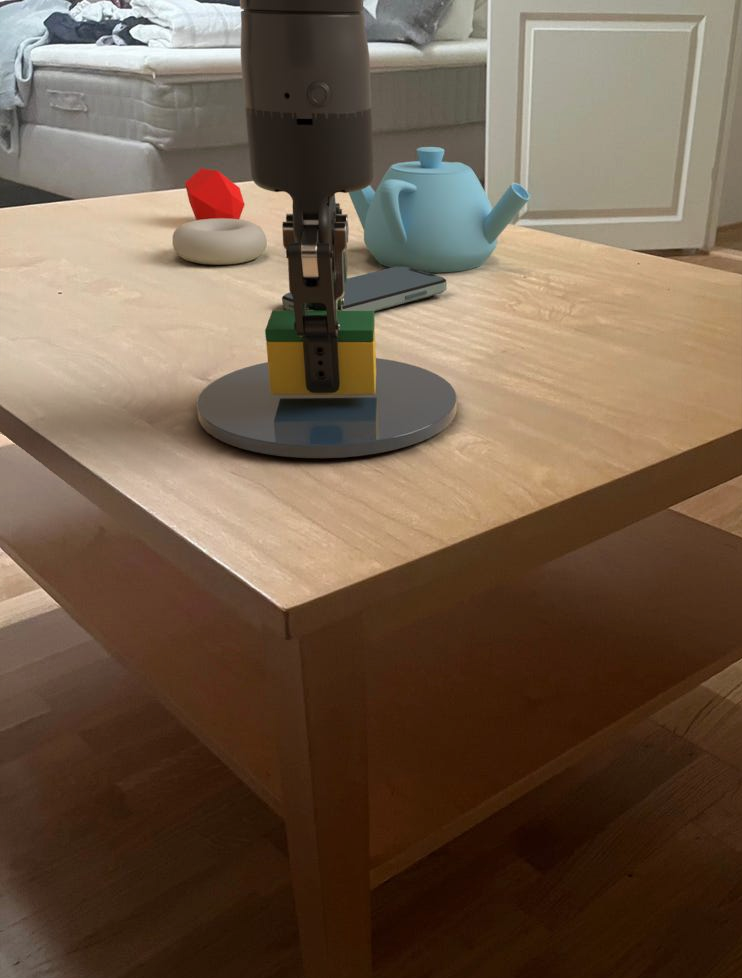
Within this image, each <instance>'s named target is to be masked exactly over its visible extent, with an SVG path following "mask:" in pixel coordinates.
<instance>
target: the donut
mask: <svg viewBox="0 0 742 978" xmlns="http://www.w3.org/2000/svg"><path fill="white" fill-rule="evenodd" d="M267 244H268V240H267V235H266V234H265V230H263V228H262V227H260V225H258V224H256V223H254V222H252V221H249V220H245V219H240V218H239V219H224V218H220V219H202V220H196V219H195V220H191V221H187V222H184V223H182V224H180V225H179V226H178V227H177V228H175V230H173V233H172V248H173V250H174V251H175V253H176V255H178V256H179V257H181V258H182V259H183V260H186V261H188V262H191V263H195V264H201V265H211V266H212V265H213V266H221V265H235V264H237V265H238V264H242V263H248V262H250V261H254V260H256V259H258V258H259V257H260V256H262V255H263V253H264V252H265V251H266V249H267V246H268V245H267Z"/></svg>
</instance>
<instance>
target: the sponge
mask: <svg viewBox="0 0 742 978" xmlns="http://www.w3.org/2000/svg"><path fill="white" fill-rule="evenodd" d="M307 315H327V311H307ZM375 319H376V318H375V311H338V323H340V331H338V337H337V340H338V359H339V377H340V385H339V389H338V391H336V392H334V393H312V392H310V391H308V390H307V388H306V378H305V365H304V351H303V337H300V336H297V332H296V330H295V329H294V321H295V313H294V310H287V309H285V310H283V309H279V310H278V309H273V310H271V313H270V316H269V318H268V321H267V325H266V327H265V329H264V333H265V341H266V342H265V345H266V356H267V362H268V367H269V378H270V389H271V394H272V395H374V394H375V388H376V358H377V357H376V354H377V353H376V328H375V327H376V325H375V323H376V322H375Z"/></svg>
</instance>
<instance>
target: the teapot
mask: <svg viewBox="0 0 742 978" xmlns="http://www.w3.org/2000/svg"><path fill="white" fill-rule="evenodd" d="M415 150H416V155H417V158H418V160H414V161H404V162H397V163H394V164H392V165H390V166H389V168H388V169H387V170H386V172H385V174H384V175H383V177H382V178H381V181H380V182H379V184H378V186H377V188H376V190H374V189H373V188H372V186H371V184H370V185H369V186H368V187H366V188H364V189H361V190H358V191H354V192H348V193H347V194H348V195H349V198H350V200H351V203H352V205H353V207H354V210H355V212H356V215H357V217H358V219H359V222H360V224H361V227H362V229H363V241H364V244H365V248H366V249H367V250H368V251H369V253H370V255H372V257H373V258H374V259H375V260H376V261H377V262H378V263H379V264H380V265H382V266H384V267H387V268H392V267H408V268H413V269H417V270H420V271H424V272H427V273H431V274H435V273H436V274H437V273H438V274H439V273H442V274H443V273H455V272H456V273H457V272H462V271H468V270H472V269H476V268H478V267H480V266H482V265H483V264H484V263H485V262H486V261H487V260H488V259H489V258H490V256H491V255H492V254H493V252H494V251H495V250H496V248H497V245H498V237H499V236H500V235H501V234H502V233H503V231H504V230H505V229H506V228H507V227H508V225H509V224H511V222H512V221H513V219H514V218H515V217H516V216H517V215H518V214H519V212H520V211H521V210H522V209H523V208H524V207H525V205H526V204H527V203H528V202H529V201H530V199H531V195H530V193H529V192H528V191H527V189H526V188H525V187H524V186H523V185H521V184H520V183H518V182H511V184H510V186H509V187H508V188H507V189H506V190H505V192H504V193H503V195H501V197H500V199H498V201H497V202H496V203H495V205H494V206H492V204H491V201H490V199H489V197H488V195H487V193H486V191H485V189H484V187H483V185H482V183H481V182H480V180H479V178H478V176H477V175H476V173H475V172H474V170H473V169H472V168H471V166H469V165H467V164H465V163H462V162H460V161H459V162H458V161H453V162H451V161H443V158H444V155H445V151H446V150H445V149H444V148H442V147H437V146H422V147H418V148H416V149H415Z"/></svg>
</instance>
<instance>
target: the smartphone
mask: <svg viewBox="0 0 742 978" xmlns="http://www.w3.org/2000/svg"><path fill="white" fill-rule="evenodd" d="M447 284H448V283H447V279H446V278H445V277H443V276H440V275H437V274H435V273H427V272H424V271H420V270H417V269H413V268H408V267H392V268H389V267H387V268H385V269H381V270H376V271H371V272H368V273H364V274H359V275H356V276H352V277H347V280H346V282H345V293H344V296H343V297H342V298H344V305H342V311H374V312H377V311H378V312H379V311H381V310H385V309H388V308H392V307H396V306H399V305H403V304H406V303H410V302H414V301H423V300H427V299H430V298H433V297H435V296H436V295H440V294H443V293H445V291H447V289H448V288H447ZM281 303H282V308H284V309H285V310H294V304H293V296H292V295H291V294H290V292H286V293H285V294H284V295H282V297H281ZM307 311H311V310H307Z"/></svg>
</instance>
